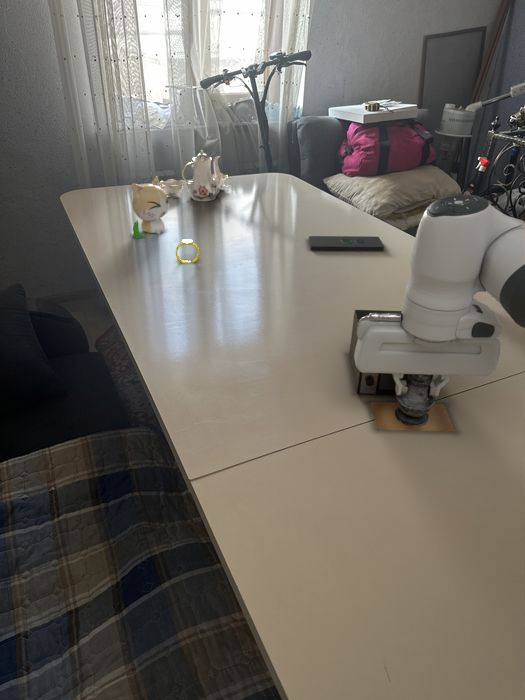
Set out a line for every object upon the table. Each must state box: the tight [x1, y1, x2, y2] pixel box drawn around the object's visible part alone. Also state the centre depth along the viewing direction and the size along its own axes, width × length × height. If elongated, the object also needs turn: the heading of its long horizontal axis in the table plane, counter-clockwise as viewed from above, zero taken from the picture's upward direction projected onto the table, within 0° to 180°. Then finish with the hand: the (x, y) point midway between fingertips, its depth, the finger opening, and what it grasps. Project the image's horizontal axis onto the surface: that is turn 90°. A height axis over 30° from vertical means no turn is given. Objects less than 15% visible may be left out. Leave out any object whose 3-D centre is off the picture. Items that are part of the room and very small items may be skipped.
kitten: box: [131, 175, 170, 239], centre depth 147 cm, size 15×10×15 cm
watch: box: [175, 238, 200, 264], centre depth 131 cm, size 6×3×6 cm, turn 98°
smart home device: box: [308, 235, 385, 252], centre depth 143 cm, size 8×2×20 cm
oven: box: [348, 309, 434, 396], centre depth 88 cm, size 12×14×10 cm
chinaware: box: [159, 149, 232, 202], centre depth 178 cm, size 28×17×17 cm, turn 130°
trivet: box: [370, 401, 456, 433], centre depth 82 cm, size 12×7×1 cm, turn 88°
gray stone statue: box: [395, 374, 436, 427], centre depth 78 cm, size 6×6×12 cm
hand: (416, 393), depth 79 cm, fingers closed on gray stone statue, 3 cm apart
